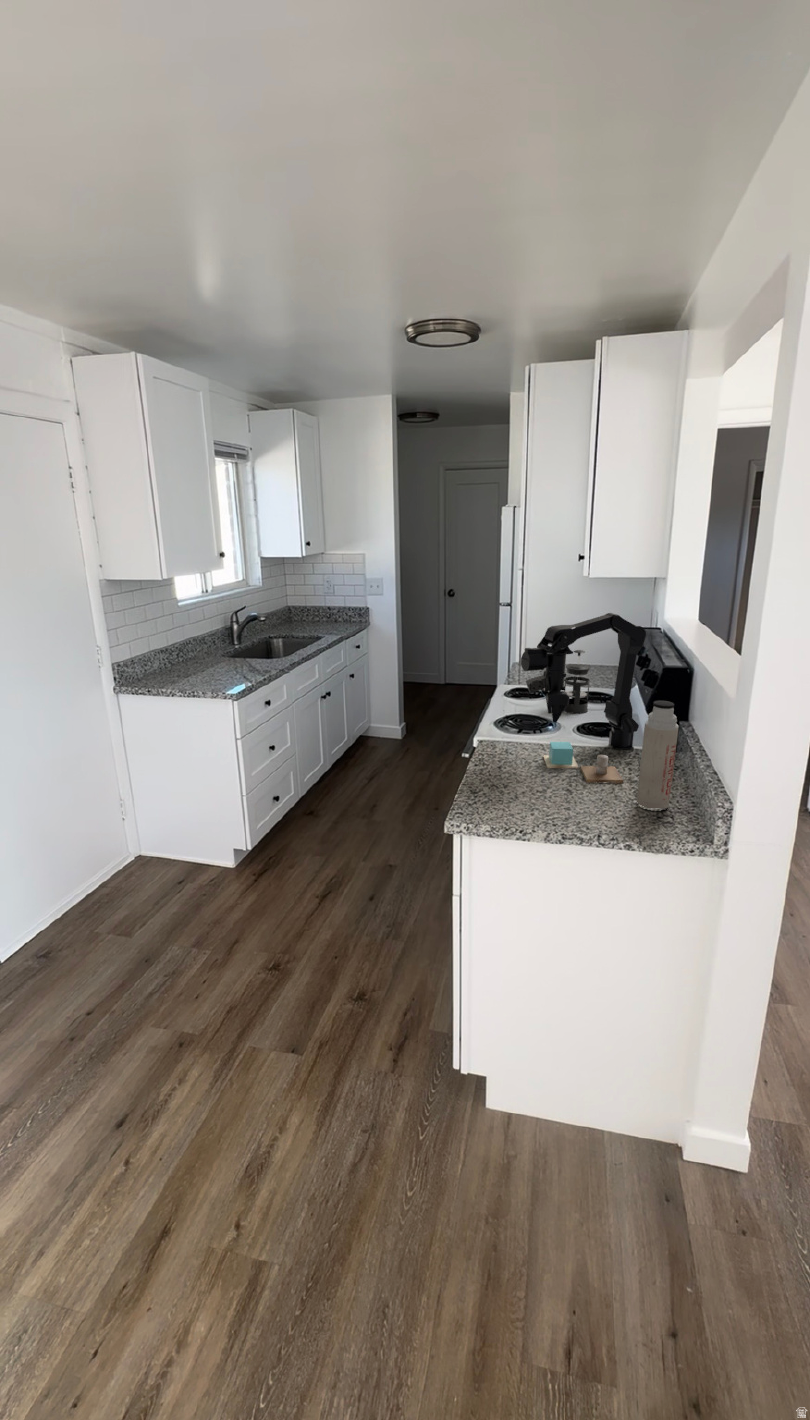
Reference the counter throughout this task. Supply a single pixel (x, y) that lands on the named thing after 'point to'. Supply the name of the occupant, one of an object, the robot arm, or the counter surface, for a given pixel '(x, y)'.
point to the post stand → (601, 772)
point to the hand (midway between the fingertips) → (552, 717)
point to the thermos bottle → (658, 756)
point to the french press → (577, 687)
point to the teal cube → (561, 753)
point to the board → (550, 765)
